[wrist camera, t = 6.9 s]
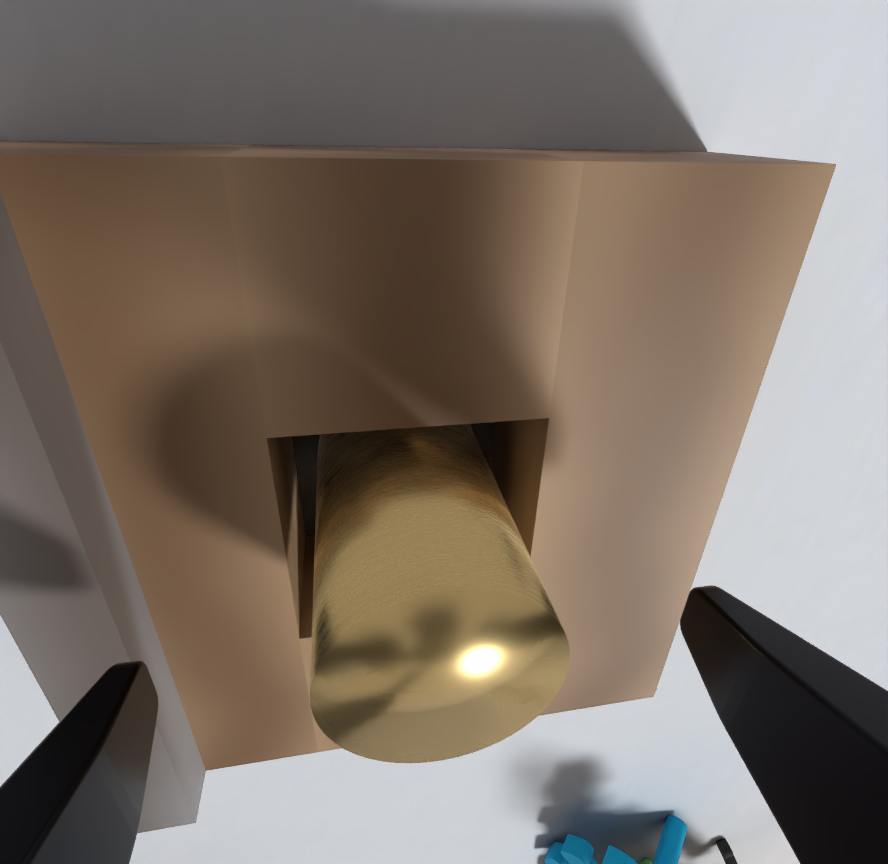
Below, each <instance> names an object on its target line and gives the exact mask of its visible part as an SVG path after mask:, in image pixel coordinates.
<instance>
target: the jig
mask: <svg viewBox="0 0 888 864" xmlns="http://www.w3.org/2000/svg"><path fill="white" fill-rule="evenodd" d="M835 167H836V164H828V163H818V162H808V161H797V160H787V159H777V158H766V157H756V156H746V155H735V154H725V153H714V152H676V151H612V150H549V149H485V148H421V147H357V146H294V145H230V144H166V143H102V142H38V141H0V615H1V617H2V618H3V620H4V622H5V624H6V626H7V628H8V629H9V631H10V633H11V635H12V637H13V638H14V640H15V642H16V644H17V646H18V647H19V649H20V651H21V653H22V655H23V657H24V658H25V660H26V662H27V664H28V666H29V667H30V669H31V671H32V673H33V675H34V676H35V678H36V680H37V682H38V684H39V686H40V687H41V689H42V691H43V693H44V695H45V696H46V698H47V700H48V702H49V704H50V705H51V707H52V709H53V711H54V713H55V715H56V716H57V718H58V720H59V722H60V721H61V720H62V719H63V718H64V717H65V716H66V714H67V713H68V712H69V711H70V710H71V709H72V708H73V707H74V706H75V705H76V704H77V702H78V701H79V700H80V699H81V698H82V697H83V696H84V695H85V694H86V693H87V692H88V690H89V689H90V688H91V687H92V686H93V685H94V684H95V683H96V682H97V681H98V679H99V678H100V677H101V676H102V675H103V674H104V673H105V672H106V671H107V670H108V669H109V668H110V667H111V666H113V665H115V664H118V663H124V662H132V661H143V662H144V663H145V664H146V666H147V668H148V670H149V673H150V676H151V678H152V681H153V683H154V686H155V689H156V691H157V694H158V713H157V720H156V726H155V732H154V739H153V745H152V751H151V758H150V764H149V770H148V777H147V783H146V789H145V796H144V802H143V807H142V813H141V819H140V823H139V827H138V831H137V833H141V832H147V831H152V830H158V829H163V828H169V827H175V826H180V825H186V824H191V823H196V819H197V814H198V809H199V803H200V798H201V793H202V787H203V782H204V777H205V771H206V770H212V769H218V768H224V767H230V766H236V765H243V764H249V763H255V762H261V761H267V760H273V759H279V758H285V757H291V756H297V755H303V754H309V753H315V752H321V751H327V750H333V749H339V748H342V747H340V746H339V745H337V744H335V743H334V742H333V741H332V740H331V739H329V738H328V737H327V736H326V735H325V734H324V733H323V731H322V730H321V729H320V728H319V726H318V725H317V723H316V721H315V719H314V717H313V714H312V710H311V706H310V673H311V643H312V613H313V583H314V552H315V535H308V536H305V529H304V522H303V515H302V507H301V500H300V493H299V486H298V478H297V471H296V464H295V456H294V449H293V442H292V436H302V435H316V434H331V433H345V432H359V431H373V430H388V429H402V428H416V427H430V426H444V425H459V424H473V423H487V422H495V424H494V437H493V450H492V463H491V472H492V474H493V476H494V478H495V481H496V483H497V485H498V487H499V489H500V491H501V494H502V496H503V498H504V500H505V502H506V505H507V507H508V509H509V511H510V513H511V515H512V518H513V520H514V522H515V524H516V526H517V529H518V531H519V533H520V535H521V537H522V540H523V542H524V544H525V546H526V548H527V550H528V553H529V555H530V557H531V559H532V561H533V564H534V566H535V568H536V570H537V572H538V574H539V577H540V579H541V581H542V583H543V585H544V588H545V590H546V592H547V594H548V596H549V599H550V601H551V603H552V605H553V607H554V609H555V612H556V614H557V616H558V618H559V620H560V623H561V625H562V627H563V629H564V631H565V633H566V636H567V639H568V643H569V648H570V662H569V668H568V672H567V675H566V678H565V680H564V682H563V684H562V687H561V688H560V690H559V692H558V693H557V695H556V696H555V698H554V699H553V700H552V701H551V703H550V704H549V705H548V706H547V707H546V708H545V709H544V710H543V711H542V712H541V713H540V714H539V715H545V714H552V713H558V712H564V711H570V710H576V709H582V708H588V707H594V706H600V705H606V704H612V703H618V702H624V701H630V700H636V699H642V698H648V697H654V694H655V691H656V688H657V685H658V682H659V680H660V677H661V674H662V671H663V668H664V665H665V662H666V659H667V656H668V653H669V650H670V648H671V645H672V642H673V639H674V636H675V633H676V630H677V627H678V624H679V621H680V618H681V615H682V613H683V610H684V607H685V604H686V601H687V598H688V595H689V592H690V589H691V586H692V583H693V580H694V578H695V575H696V572H697V569H698V566H699V563H700V560H701V557H702V554H703V551H704V548H705V545H706V543H707V540H708V537H709V534H710V531H711V528H712V525H713V522H714V519H715V516H716V513H717V511H718V508H719V505H720V502H721V499H722V496H723V493H724V490H725V487H726V484H727V481H728V478H729V476H730V473H731V470H732V467H733V464H734V461H735V458H736V455H737V452H738V449H739V446H740V443H741V441H742V438H743V435H744V432H745V429H746V426H747V423H748V420H749V417H750V414H751V411H752V409H753V406H754V403H755V400H756V397H757V394H758V391H759V388H760V385H761V382H762V379H763V376H764V374H765V371H766V368H767V365H768V362H769V359H770V356H771V353H772V350H773V347H774V344H775V341H776V339H777V336H778V333H779V330H780V327H781V324H782V321H783V318H784V315H785V312H786V309H787V306H788V304H789V301H790V298H791V295H792V292H793V289H794V286H795V283H796V280H797V277H798V274H799V272H800V269H801V266H802V263H803V260H804V257H805V254H806V251H807V248H808V245H809V242H810V239H811V237H812V234H813V231H814V228H815V225H816V222H817V219H818V216H819V213H820V210H821V207H822V204H823V202H824V199H825V196H826V193H827V190H828V187H829V184H830V181H831V178H832V175H833V172H834V169H835ZM539 715H538V716H539Z"/></svg>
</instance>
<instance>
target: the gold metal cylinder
mask: <svg viewBox="0 0 888 864" xmlns="http://www.w3.org/2000/svg"><path fill="white" fill-rule="evenodd" d="M569 662H570V648H569V643H568V639H567V636H566V633H565V631H564V629H563V627H562V625H561V623H560V620H559V618H558V616H557V614H556V612H555V609H554V607H553V605H552V603H551V601H550V599H549V596H548V594H547V592H546V590H545V588H544V585H543V583H542V581H541V579H540V577H539V574H538V572H537V570H536V568H535V566H534V564H533V561H532V559H531V557H530V555H529V553H528V550H527V548H526V546H525V544H524V542H523V540H522V537H521V535H520V533H519V531H518V529H517V526H516V524H515V522H514V520H513V518H512V515H511V513H510V511H509V509H508V507H507V505H506V502H505V500H504V498H503V496H502V494H501V491H500V489H499V487H498V485H497V483H496V481H495V478H494V476H493V474H492V472H491V470H490V467H489V465H488V463H487V461H486V459H485V456H484V454H483V452H482V450H481V448H480V446H479V443H478V441H477V439H476V437H475V435H474V432H473V430H472V428H471V426H470V424H459V425H444V426H430V427H416V428H402V429H388V430H373V431H359V432H345V433H331V434H320V435H319V441H318V462H317V492H316V522H315V552H314V583H313V613H312V643H311V673H310V706H311V710H312V714H313V717H314V719H315V721H316V723H317V725H318V726H319V728H320V729H321V730H322V731H323V733H324V734H325V735H326V736H327V737H328V738H329V739H331V740H332V741H333V742H334V743H335V744H337V745H339V746H340V747H342V748H344V749H345V750H347V751H350V752H352V753H354V754H356V755H360V756H363V757H366V758H369V759H374V760H379V761H385V762H394V763H422V762H432V761H439V760H445V759H450V758H455V757H459V756H462V755H466V754H469V753H473V752H475V751H478V750H481V749H483V748H486V747H488V746H491V745H493V744H495V743H497V742H499V741H501V740H503V739H505V738H507V737H509V736H510V735H512V734H514V733H515V732H517V731H518V730H520V729H522V728H523V727H525V726H526V725H527V724H528V723H530V722H531V721H532V720H533V719H535V718H536V717H537V716H538V715H539V714H540V713H541V712H542V711H543V710H544V709H545V708H546V707H547V706H548V705H549V704H550V703H551V701H552V700H553V699H554V698H555V696H556V695H557V693H558V692H559V690H560V688H561V687H562V684H563V682H564V680H565V678H566V675H567V672H568V668H569Z"/></svg>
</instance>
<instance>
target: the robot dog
mask: <svg viewBox="0 0 888 864" xmlns="http://www.w3.org/2000/svg"><path fill="white" fill-rule="evenodd" d="M716 844H717V846H718V848H719V850H720V852H721V854H722V856H723V859H724V861H725V863H726V864H737V862H736V859H735V857H734V855H733V852H732V850H731V848H730V846H729V844H728V842H727V841H726V839H722V840H720V841H717V842H716Z"/></svg>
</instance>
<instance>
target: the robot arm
mask: <svg viewBox="0 0 888 864" xmlns="http://www.w3.org/2000/svg"><path fill="white" fill-rule="evenodd" d="M680 626H681V631H682V634H683V637H684V639H685V641H686V643H687V646H688V648H689V650H690V652H691V655H692V657H693V659H694V662H695V664H696V666H697V668H698V671H699V673H700V675H701V678H702V680H703V682H704V684H705V687H706V689H707V691H708V693H709V696H710V698H711V700H712V703H713V705H714V707H715V709H716V711H717V713H718V715H719V717H720V719H721V721H722V723H723V725H724V727H725V729H726V731H727V732H728V734H729V736H730V738H731V740H732V741H733V743H734V745H735V747H736V749H737V750H738V752H739V754H740V756H741V758H742V759H743V761H744V763H745V765H746V767H747V768H748V770H749V772H750V774H751V776H752V777H753V779H754V781H755V783H756V785H757V786H758V788H759V790H760V792H761V794H762V795H763V797H764V799H765V801H766V803H767V804H768V806H769V808H770V810H771V812H772V813H773V815H774V817H775V819H776V821H777V822H778V824H779V826H780V828H781V830H782V831H783V833H784V835H785V837H786V839H787V840H788V842H789V844H790V846H791V848H792V849H793V851H794V853H795V855H796V857H797V858H798V860H799V862H800V864H888V691H887V690H885V689H884V688H882V687H880V686H879V685H877V684H875V683H874V682H872V681H871V680H869V679H867V678H866V677H864V676H862V675H861V674H859V673H858V672H856V671H854V670H853V669H851V668H849V667H848V666H846V665H845V664H843V663H841V662H840V661H838V660H836V659H835V658H833V657H832V656H830V655H828V654H827V653H825V652H823V651H822V650H820V649H818V648H817V647H815V646H814V645H812V644H810V643H809V642H807V641H805V640H804V639H802V638H801V637H799V636H797V635H796V634H794V633H792V632H791V631H789V630H788V629H786V628H784V627H783V626H781V625H779V624H778V623H776V622H775V621H773V620H771V619H770V618H768V617H766V616H765V615H763V614H762V613H760V612H758V611H757V610H755V609H753V608H752V607H750V606H748V605H747V604H745V603H744V602H742V601H740V600H739V599H737V598H735V597H734V596H732V595H731V594H729V593H727V592H726V591H724V590H722V589H721V588H719V587H716V586H704V587H696V588H693V589H692V590H691V591H690V593H689V595H688V598H687V601H686V604H685V607H684V610H683V613H682V616H681V619H680ZM157 713H158V694H157V691H156V689H155V686H154V683H153V681H152V678H151V676H150V673H149V670H148V668H147V666H146V664H145V663H144V662H143V661H132V662H124V663H118V664H115V665H113V666H111V667H110V668H109V669H108V670H107V671H106V672H105V673H104V674H103V675H102V676H101V677H100V678H99V679H98V681H97V682H96V683H95V684H94V685H93V686H92V687H91V688H90V689H89V690H88V692H87V693H86V694H85V695H84V696H83V697H82V698H81V699H80V700H79V701H78V702H77V704H76V705H75V706H74V707H73V708H72V709H71V710H70V711H69V712H68V713H67V714H66V716H65V717H64V718H63V719H62V720H61V721H60V722H59V723H58V724H57V725H56V727H55V728H54V729H53V730H52V731H51V732H50V733H49V734H48V735H47V736H46V737H45V739H44V740H43V741H42V742H41V743H40V744H39V745H38V746H37V747H36V748H35V749H34V751H33V752H32V753H31V754H30V755H29V756H28V757H27V758H26V759H25V760H24V761H23V763H22V764H21V765H20V766H19V767H18V768H17V769H16V770H15V771H14V772H13V774H12V775H11V776H10V777H9V778H8V779H7V780H6V781H5V782H4V783H3V784H2V786H1V787H0V864H129V862H130V858H131V855H132V851H133V847H134V843H135V840H136V835H137V831H138V827H139V823H140V819H141V813H142V807H143V802H144V796H145V789H146V783H147V777H148V770H149V764H150V758H151V751H152V745H153V739H154V732H155V726H156V720H157Z"/></svg>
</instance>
